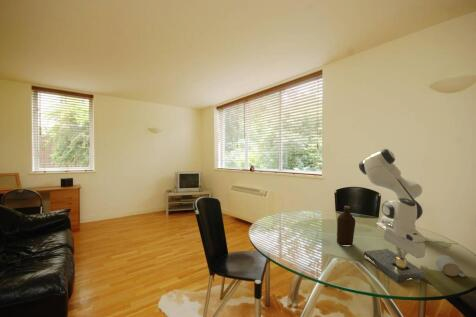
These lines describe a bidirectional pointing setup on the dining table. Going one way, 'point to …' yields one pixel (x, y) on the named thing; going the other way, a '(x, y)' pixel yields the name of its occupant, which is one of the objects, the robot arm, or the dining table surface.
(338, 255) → the dining table surface
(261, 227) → the dining table surface
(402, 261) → the brass bushing
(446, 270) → the ceramic mug
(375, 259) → the metal jig
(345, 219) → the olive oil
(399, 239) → the robot arm
